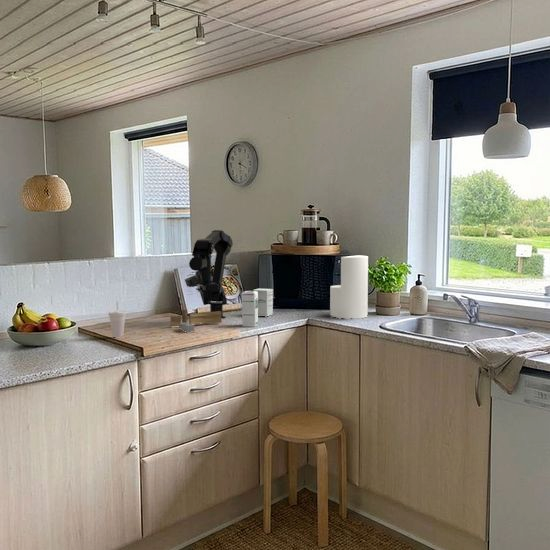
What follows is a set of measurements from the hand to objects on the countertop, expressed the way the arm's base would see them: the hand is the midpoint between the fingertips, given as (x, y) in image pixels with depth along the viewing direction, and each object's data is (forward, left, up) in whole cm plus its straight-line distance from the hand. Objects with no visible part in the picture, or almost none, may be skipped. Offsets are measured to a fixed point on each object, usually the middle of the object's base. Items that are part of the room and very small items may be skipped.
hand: (205, 304), depth 244 cm
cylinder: (+16, +65, -8) cm, 67 cm away
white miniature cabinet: (+16, +14, -8) cm, 23 cm away
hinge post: (+5, -14, -8) cm, 16 cm away
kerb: (+15, -14, -8) cm, 22 cm away
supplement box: (-5, +31, -8) cm, 32 cm away
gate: (+5, -2, -7) cm, 9 cm away
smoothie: (+15, -41, -8) cm, 44 cm away
